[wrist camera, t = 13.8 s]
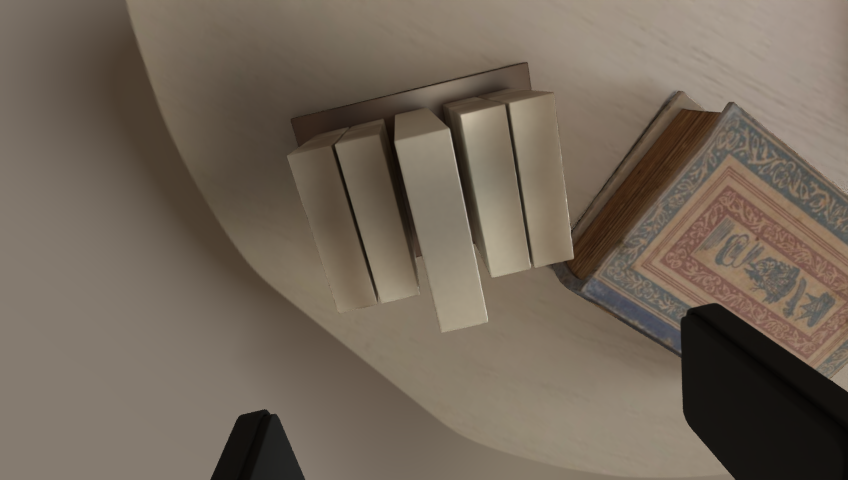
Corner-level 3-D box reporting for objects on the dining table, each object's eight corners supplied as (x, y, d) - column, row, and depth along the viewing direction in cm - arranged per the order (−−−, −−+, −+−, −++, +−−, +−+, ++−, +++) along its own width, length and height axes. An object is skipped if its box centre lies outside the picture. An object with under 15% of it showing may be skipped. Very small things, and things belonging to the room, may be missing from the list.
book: (734, 94, 29) (957, 278, 35) (674, 90, 36) (872, 246, 41) (568, 297, 34) (790, 431, 39) (542, 261, 40) (736, 381, 46)
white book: (424, 237, 37) (441, 333, 23) (394, 115, 34) (393, 141, 20) (453, 230, 37) (489, 322, 23) (427, 107, 34) (449, 127, 20)
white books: (341, 270, 39) (321, 339, 29) (292, 118, 35) (249, 135, 24) (546, 222, 39) (601, 275, 28) (524, 62, 34) (579, 55, 24)
